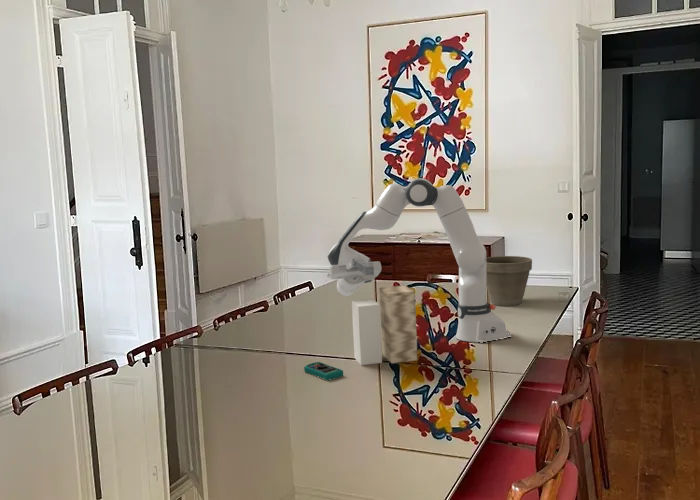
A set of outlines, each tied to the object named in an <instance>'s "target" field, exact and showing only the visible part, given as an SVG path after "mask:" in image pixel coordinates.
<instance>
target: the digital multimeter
mask: <svg viewBox="0 0 700 500" xmlns="http://www.w3.org/2000/svg"><path fill="white" fill-rule="evenodd" d="M303 369H304V370H303V371H305V372H304V373H306V372H307V373H306V374H309V373H310V374H309V375H312V374H313V375H312V376H314V375H316V376H315V377H317V376H319V377H321V378H320V379H322V378H324V379H326V380H328V381H330V380H329V379H332V380H335V379H334V378H336V379H338V377H339V378H341V376H342V377H343V376H344V370H343V369H341V368H337V367H335V366H331V365H330V364H326V363H324V362H321V361H316V362H315V361H314V362H312V363H309V364H307V365H305V366H304V367H303ZM319 377H318V378H319ZM324 379H323V380H324ZM326 380H325V381H326Z"/></svg>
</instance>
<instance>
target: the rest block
mask: <svg viewBox="0 0 700 500" xmlns="http://www.w3.org/2000/svg"><path fill="white" fill-rule="evenodd" d="M351 315H352V316H351V317H352V335H353V336H352V337H353V354H354V356H353V357H354V359H355V360H356V361H357V362H358V363H359V365H360V366H366V365H367V366H368V365H376V364H382V363H383V355H382V336H381V312H380V303H378V302H377V301H376V300H374V299H373V298H368V299H359V300H357V299H356V300H351Z"/></svg>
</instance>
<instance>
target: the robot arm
mask: <svg viewBox="0 0 700 500" xmlns="http://www.w3.org/2000/svg"><path fill="white" fill-rule="evenodd" d="M408 205H412V206H415V207H427V206H432V207H433V208H434V210H435V211H436V213H437V215H438V218H439V220H440V222H441V225H442V226H443V229H444V231H445V234H446V237H447V239H448V242H449V245H450V247H451V249H452V253H453V256H454V258H455V260H456V263H457V266H458V303H457V316H458V321H457V322H458V323H457V329H456V334H455V338H456V339H457V340H459V341H463V342H470V343H478V342H480V343H479V344H484V343H483V342H486V343H488V342H487V341H491V340H496V339H500V338H504V337H508V336H511V335H512V336H513V334H512V332H510V331H509V330H507V327H506V323H505V321H504V320H503V319H502V318H501V317H500V316H498V315H497V314H495V313H494V312H492V311H494V310H495V309H496V305H494V304H492V303H489V302H487V300H488V299H487V286H486V258H487V249H486V247H485V245H484V244H483V243H482V242H480V240H479V238H478V235H477V233H476V230H475V226H474V224H473V222H472V219H471V217H470V215H469V213H468V211H467V209H466V206H465V204H464V202H463V200H462V198H461V196H460V194H459V193H458V191H457V190H456V189H455V187H453V186H452V185H449V184H445V185H441V186H434V185H433V183H432V182H431V181H430V180H429V179H426V178H415V179H414V180H412V181H411V182H409V184H407V185H406V186H403V185H401V184H399V183H390V184H389V185H387V186H386V188H385V189H384V190H383V191H382V193H381V194H380V196H379V198H378V199H377V200H376V202H375V204H374V206H373V207H372V208H371V209H369V210H368V211H362V212H361V213H360V214H359V215H357V216H358V217H357V218H355V220H354V221H353V222H352V223H351V225H350V226H349V227H348V229H347V230H346V231H345V233H344V234H343V235H342V236H341V238H339V240H338V241H337V242H336V243H335V244H333V246H332V247H331V248H330V250H328V251H329V252H328V254H327V259H328V262H329V265H331V266H329V273H327V278H330V279H331V280H337V281H336V290H337V292H338V293H339V294H340V295H343V296H345V297H346V296H347V297H348V296H351V295H353V294H355V292H356V291H357V290H358V288H359V286H361V285H364V284H367V283H371V282H373V281H375V279H376V278H377V277H378V276H379V275H380V273H382V264H381V261H378V260H377V261H372V260H371V258H370V257H368V256H366V255H365V254H364V253H361V252H358V251H357V250H355V249H354V248H351V247H350V246H349V243H350V242H351V241H352V240H353V239H354V237H355V236H356V235H357V234H358V233H359V232H360V231H361V230H365V229H368V230H369V229H370V230H377V231H385V230H386V231H387V230H389V229H391V228H394V226H395V224H396V223H397V222H398V220H399V218H401V215H402V213H403V211H404V209H405V208H406V207H407V206H408ZM355 258H360V259H362V260H364V261H365V262H367V263H369V264H371V265H372V266H374V275H365V274H363V273H362V272H360V271H359V270H357V269H356V268H354V267H355V261H352V259H355ZM508 333H509V334H508ZM510 333H511V334H510ZM496 341H497V340H496ZM491 342H492V341H491Z"/></svg>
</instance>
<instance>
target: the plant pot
mask: <svg viewBox="0 0 700 500" xmlns="http://www.w3.org/2000/svg"><path fill="white" fill-rule="evenodd" d="M532 267H533V259H532V258H531V257H526V256H520V255H518V256H517V255H497V256H488V257H487V256H486V291H487V293H488V296H489V300H490V304H493V305H495V306H499V305H501V307H511V306H510V305H514V306H518V305H517V304H519V305H521V304H522V302H523V299H524V296H525V292H526V288H527V285H528V280H529V276H530V273H531V272H530V271H531V270H532ZM520 303H521V304H520Z"/></svg>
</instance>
